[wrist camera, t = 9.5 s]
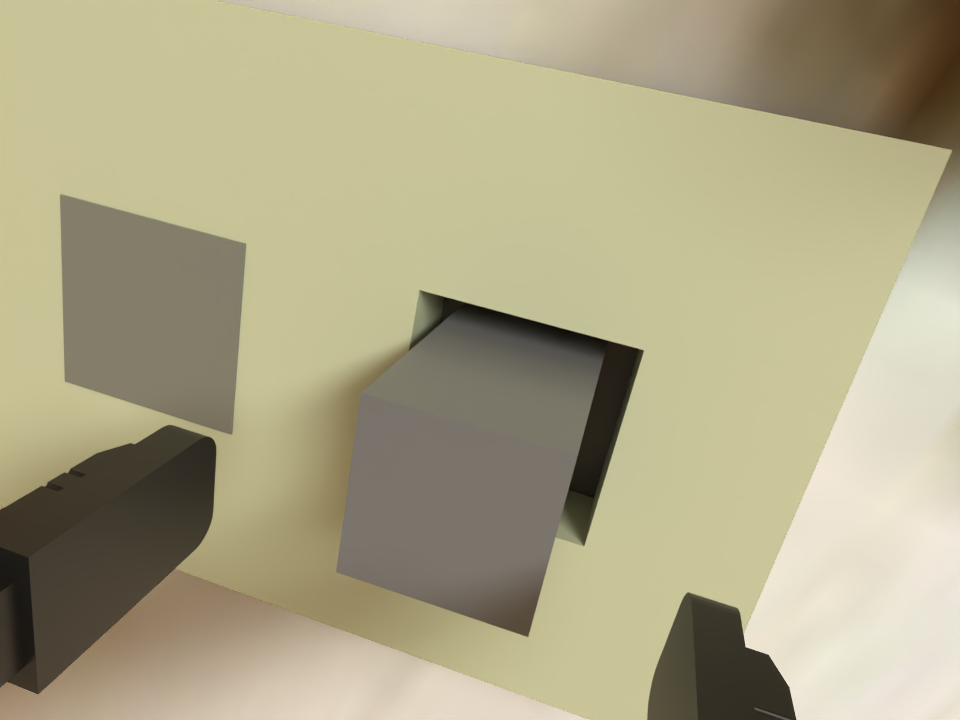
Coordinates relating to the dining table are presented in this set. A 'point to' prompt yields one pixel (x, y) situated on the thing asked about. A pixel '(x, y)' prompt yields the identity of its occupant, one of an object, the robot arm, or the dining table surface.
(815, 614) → the dining table surface
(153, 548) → the robot arm
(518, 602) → the block
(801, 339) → the outlet plate
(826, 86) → the dining table surface
